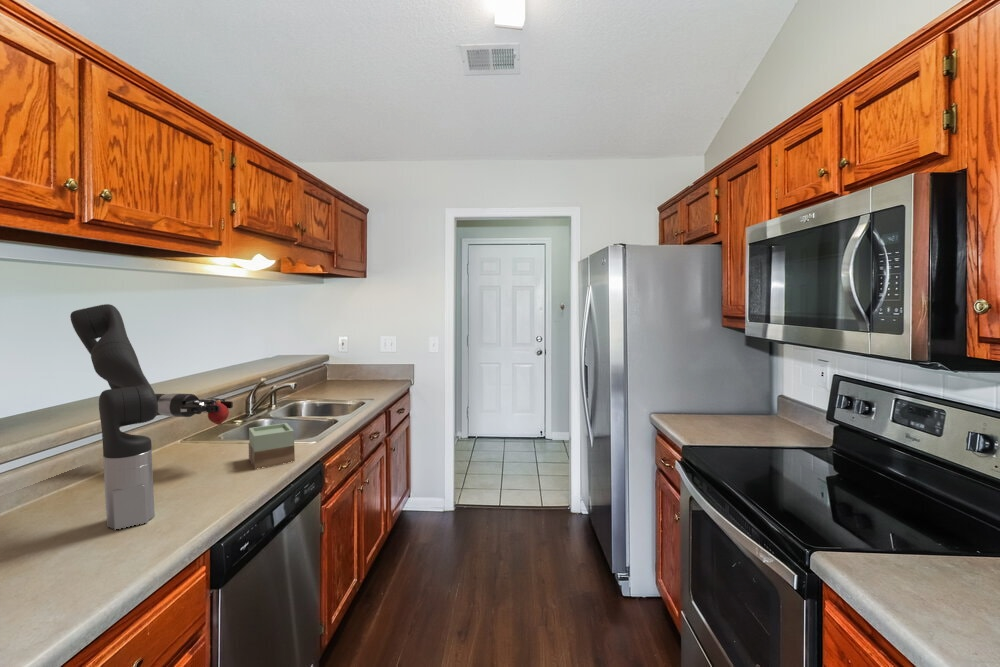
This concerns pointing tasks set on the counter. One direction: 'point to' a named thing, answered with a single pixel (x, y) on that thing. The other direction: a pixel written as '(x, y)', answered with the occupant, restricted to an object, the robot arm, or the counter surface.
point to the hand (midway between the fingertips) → (225, 406)
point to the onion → (219, 414)
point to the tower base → (271, 456)
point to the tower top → (271, 437)
